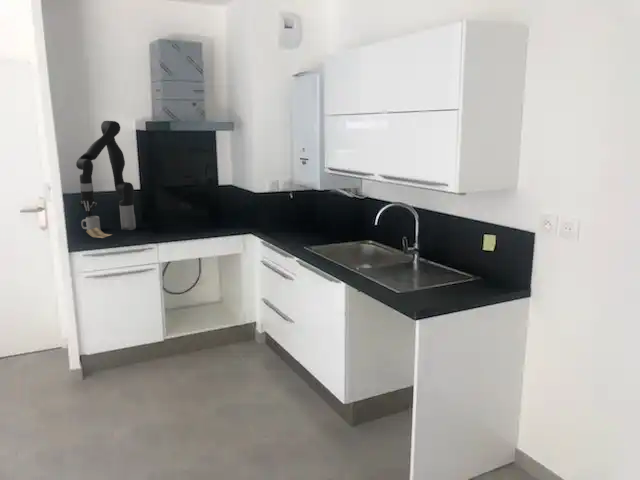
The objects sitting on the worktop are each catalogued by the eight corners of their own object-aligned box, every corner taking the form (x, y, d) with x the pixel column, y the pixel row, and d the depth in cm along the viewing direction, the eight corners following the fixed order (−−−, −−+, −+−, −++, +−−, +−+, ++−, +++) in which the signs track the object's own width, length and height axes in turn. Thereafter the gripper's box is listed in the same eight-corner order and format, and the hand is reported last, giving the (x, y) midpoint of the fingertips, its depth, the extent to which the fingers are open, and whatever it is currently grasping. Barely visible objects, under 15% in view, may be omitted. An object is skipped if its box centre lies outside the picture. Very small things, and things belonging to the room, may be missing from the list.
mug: (102, 231, 363) (101, 215, 360) (98, 234, 354) (96, 218, 352) (84, 231, 362) (83, 216, 359) (80, 234, 354) (78, 218, 351)
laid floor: (95, 235, 352) (95, 232, 352) (113, 236, 348) (113, 234, 348) (84, 238, 342) (84, 236, 341) (102, 240, 338) (102, 238, 338)
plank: (96, 228, 350) (96, 227, 350) (104, 235, 350) (104, 233, 349) (85, 231, 341) (86, 230, 340) (94, 238, 340) (94, 236, 340)
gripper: (99, 189, 339) (101, 216, 343) (82, 188, 343) (84, 214, 347) (91, 191, 332) (94, 218, 336) (74, 190, 335) (76, 217, 339)
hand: (89, 216), depth 341 cm, fingers closed
